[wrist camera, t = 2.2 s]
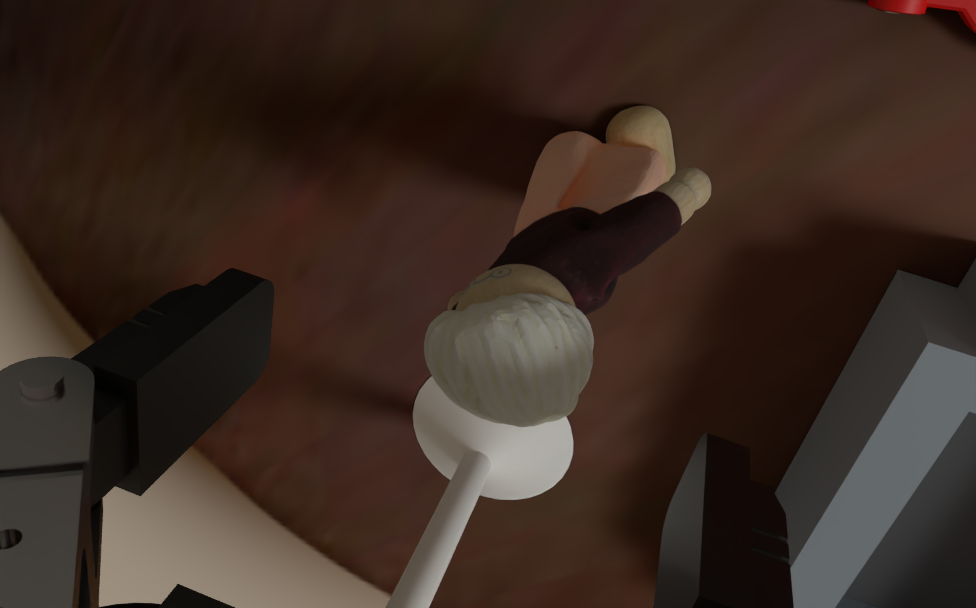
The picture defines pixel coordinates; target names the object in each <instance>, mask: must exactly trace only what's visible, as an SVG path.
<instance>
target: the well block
mask: <svg viewBox="0 0 976 608" xmlns="http://www.w3.org/2000/svg"><path fill="white" fill-rule="evenodd" d="M775 495H776V497H777V499H778V500H779V502H780V504H781V506H782V508H783V509H784V511H785V513H786V521H787V533H788V540H787V543H788V545H789V557H790V559H789V563H788V564H790V569H791V581H792V592H793V604H794V608H976V259H975V260H974V262H973V264H972V265H971V267H970V269H969V270H968V272H967V273H966V275H965V277H964V278H963V280H962V282H961V283H960V285H959V287H958V288H956V287H953V286H950V285H947V284H943V283H940V282H937V281H934V280H930V279H927V278H924V277H920V276H917V275H914V274H911V273H907V272H904V271H901V270H898V271H897V273H896V274H895V276H894V278H893V280H892V282H891V283H890V285H889V287H888V289H887V291H886V292H885V294H884V296H883V298H882V300H881V302H880V303H879V305H878V307H877V309H876V311H875V312H874V314H873V316H872V318H871V320H870V321H869V323H868V325H867V327H866V329H865V330H864V332H863V334H862V336H861V338H860V339H859V341H858V343H857V345H856V347H855V349H854V350H853V352H852V354H851V356H850V358H849V359H848V361H847V363H846V365H845V367H844V368H843V370H842V372H841V374H840V376H839V377H838V379H837V381H836V383H835V385H834V386H833V388H832V390H831V392H830V394H829V396H828V397H827V399H826V401H825V403H824V405H823V406H822V408H821V410H820V412H819V414H818V415H817V417H816V419H815V421H814V423H813V424H812V426H811V428H810V430H809V432H808V434H807V435H806V437H805V439H804V441H803V443H802V444H801V446H800V448H799V450H798V452H797V453H796V455H795V457H794V459H793V461H792V462H791V464H790V466H789V468H788V470H787V471H786V473H785V475H784V477H783V479H782V481H781V482H780V484H779V486H778V488H777V490H776V491H775Z"/></svg>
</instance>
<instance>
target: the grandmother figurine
mask: <svg viewBox="0 0 976 608" xmlns="http://www.w3.org/2000/svg"><path fill="white" fill-rule="evenodd" d="M710 195H711V183H710V180H709V178H708V176H707V175H706V174H705V173H704V172H702V171H701V170H699V169H697V168H692V167H690V168H684V169H680V170H679V171H677V172H676V173H675V158H674V150H673V142H672V135H671V130H670V126H669V122H668V120H667V119H666V117H665V116H664V115H663V114H662V113H661V112H660V111H659V110H657V109H655V108H653V107H650V106H641V105H640V106H634V107H631V108H628V109H625V110H623V111H621V112H619V113H618V114H617V115H615V117H614V118H613V119H612V120H611V121H610V123H609V125H608V127H607V130H606V144H603V143H601V142H600V141H599V140H597V139H596V138H594V137H592V136H590V135H588V134H586V133H584V132H579V131H572V132H566V133H561V134H559V135H557V136H555V137H554V138H553V139H551V140H550V141H549V142H548V143H547V144H546V146H545V147H544V149H543V151H542V153H541V155H540V156H539V158H538V160H537V163H536V166H535V168H534V171H533V174H532V177H531V179H530V182H529V185H528V188H527V193H526V197H525V200H524V203H523V205H522V207H521V210H520V213H519V216H518V220H517V223H516V226H515V231H514V237H513V238H512V239H511V240H510V242H509V243H508V244H507V246H506V249H505V250H504V252H503V253H502V254H501V255H500V256H499V258H498V259H497V260H496V261H495V263H494V264H493V265H492V266H491V267H490V268H489V270H488V271H486V272H485V273H483V274H482V275H480V276H479V277H477V278H476V279H475V280H474V281H473V282H471V283H470V284H469V286H468V287H467V288H466V290H464V291H460V292H458V293H456V294H455V295H453V297H452V298H451V299H450V301H449V304H448V311H445V312H443V313H442V314H440V315H439V316H438V317H437V318H435V319H434V320H433V321H432V322H431V323H430V325H429V327H428V329H427V332H426V336H425V342H424V353H425V359H426V363H427V366H428V369H429V371H430V373H431V375H432V377H433V379H434V380H435V382H436V384H437V385H438V386H439V388H440V389H441V390H442V391H443V392H444V393H445V395H446V396H447V397H448V398H449V399H450V400H451V401H452V402H454V403H455V404H456V405H457V406H459V407H460V408H462V409H464V410H466V411H468V412H469V413H471V414H473V415H475V416H477V417H479V418H481V419H484V420H488V421H490V422H494V423H497V424H507V425H513V426H517V427H529V426H532V427H533V426H537V425H540V424H543V423H545V422H553V421H557V420H560V419H562V418H564V417H566V416H568V415H569V414H571V412H572V411H573V410H574V408H575V407H576V404H577V402H578V399H579V398H578V395H579V394H580V393H581V391H582V389H583V388H584V386H585V385H586V383H587V381H588V379H589V377H590V372H591V368H592V365H593V355H592V351H593V345H594V339H593V333H592V330H591V325H590V323H589V321H588V319H587V318H586V316H585V315H586V314H588V313H591V312H593V311H595V310H597V309H599V308H600V307H602V306H603V305H604V304H606V303H607V301H608V300H609V299H610V297H611V295H612V292H613V290H614V288H615V285H616V282H617V278H618V276H619V275H621V274H623V273H625V272H627V271H629V270H630V269H632V268H634V267H635V266H637V265H638V264H640V263H641V262H643V261H644V260H645V259H646V258H647V257H648V256H649V255H650V254H651V253H653V252H654V251H655V250H656V249H657V248H659V247H660V246H661V245H662V244H664V243H665V242H667V241H668V240H669V239H671V238H672V237H673V236H674V235H675V234H677V233H678V231H679V230H680V228H681V225H682V224H683V223H685V222H686V221H687V220H688V219H689V218H690V217H691V216H692V214H693V212H694V211H695V210H697V209H699V208H701V207H702V206H703V205H704V204H705V203H706V202H707V201H708V199H709V197H710Z"/></svg>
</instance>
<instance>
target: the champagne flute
mask: <svg viewBox="0 0 976 608" xmlns="http://www.w3.org/2000/svg"><path fill="white" fill-rule="evenodd" d="M413 424H414V430H415V433H416V437H417V440H418V442H419V444H420V446H421V448H422V450H423V452H424V453H425V455H426V456H427V458H428V459H429V460H430V462H431V463H432V464H433V465H434V466H435V467H436V468H437V469H438V470H439V471H440V472H441V473H442V474H443V475H444V476H446V477H447V478H448V479H450V480H451V481H450V483H449V485H448V487H447V489H446V491H445V493H444V494H443V496H442V498H441V500H440V502H439V504H438V506H437V508H436V510H435V512H434V514H433V516H432V518H431V520H430V522H429V524H428V526H427V528H426V530H425V532H424V534H423V536H422V538H421V540H420V541H419V543H418V545H417V547H416V549H415V551H414V553H413V555H412V557H411V559H410V561H409V563H408V565H407V567H406V569H405V571H404V573H403V575H402V577H401V579H400V581H399V583H398V585H397V587H396V588H395V590H394V592H393V594H392V596H391V598H390V600H389V602H388V604H387V606H386V608H429V606H430V604H431V602H432V600H433V597H434V595H435V593H436V591H437V588H438V586H439V584H440V582H441V580H442V577H443V575H444V573H445V571H446V568H447V566H448V564H449V562H450V560H451V557H452V555H453V553H454V551H455V548H456V546H457V544H458V542H459V539H460V537H461V535H462V533H463V531H464V528H465V526H466V524H467V522H468V519H469V517H470V515H471V513H472V511H473V508H474V506H475V504H476V502H477V499H478V497H479V495H482V496H485V497H490V498H495V499H503V500H517V499H524V498H530V497H533V496H536V495H539V494H541V493H543V492H545V491H547V490H548V489H550V488H552V487H553V486H554V485H555V484H556V483H557V482H558V481H559V480H561V479H562V477H563V476H564V474H565V472H566V471H567V469H568V468H569V465H570V462H571V459H572V455H573V437H572V431H571V427H570V424H569V422H568V419H567V417H564V418H562V419H560V420H557V421H553V422H545V423H543V424H540V425H537V426H533V427H532V426H529V427H517V426H513V425H507V424H497V423H494V422H490V421H488V420H484V419H481V418H479V417H477V416H475V415H473V414H471V413H469V412H468V411H466V410H464V409H462V408H460V407H459V406H457V405H456V404H455V403H454V402H452V401H451V400H450V399H449V398H448V397H447V396H446V395H445V393H444V392H443V391H442V390H441V389H440V388H439V386H438V385H437V384H436V382H435V380H434V379H433V377H430V378H429V379H428V380H427V381H426V382H425V384H424V385H423V386H422V388H421V389H420V391H419V393H418V395H417V397H416V400H415V403H414V409H413Z"/></svg>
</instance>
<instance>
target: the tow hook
mask: <svg viewBox="0 0 976 608" xmlns="http://www.w3.org/2000/svg"><path fill="white" fill-rule="evenodd" d="M867 5H869V6H871V7H873V8H875V9H877V10H880V11H884V12H888V13H894V14H901V15H919V14H925V12H926V9H927V7H933V8H941V9H948V10H955V11H957V12H958V13H959V15H960V17H961V18H962V20H963V21H964V23H965V25H966V26H967V27H968V28H970V29H971V30H972V31H973V32H974V33H976V0H868V3H867Z"/></svg>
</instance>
